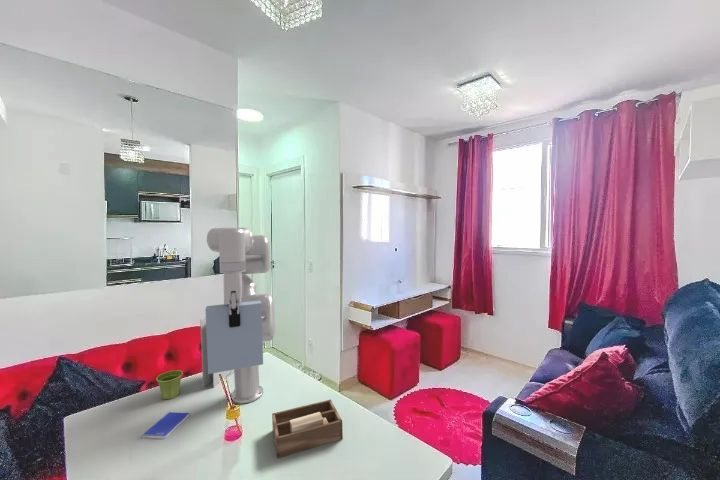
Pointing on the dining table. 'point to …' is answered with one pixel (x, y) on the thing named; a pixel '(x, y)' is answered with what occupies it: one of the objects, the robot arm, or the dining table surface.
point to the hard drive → (166, 425)
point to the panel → (234, 337)
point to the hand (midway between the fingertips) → (235, 323)
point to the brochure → (206, 376)
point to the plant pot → (170, 383)
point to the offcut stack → (307, 422)
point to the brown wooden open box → (308, 437)
